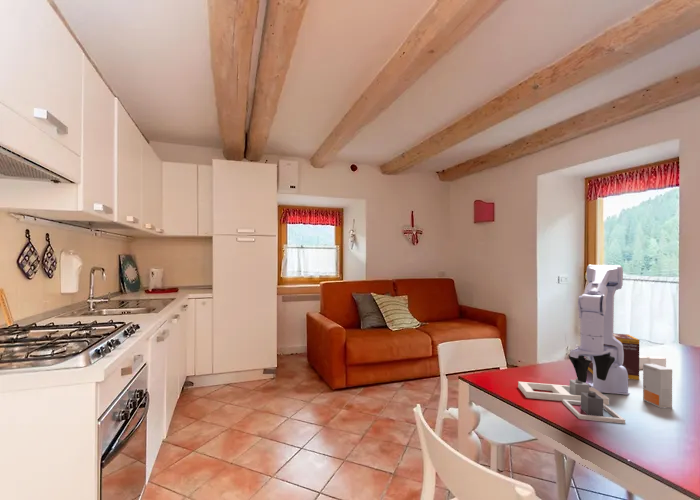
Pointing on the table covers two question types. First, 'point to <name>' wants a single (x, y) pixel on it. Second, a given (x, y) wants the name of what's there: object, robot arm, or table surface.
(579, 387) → the twin plug
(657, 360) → the napkin holder
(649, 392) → the skincare box
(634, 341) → the supplement box
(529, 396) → the twin square frames
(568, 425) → the table surface
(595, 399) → the plug
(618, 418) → the white square frame
